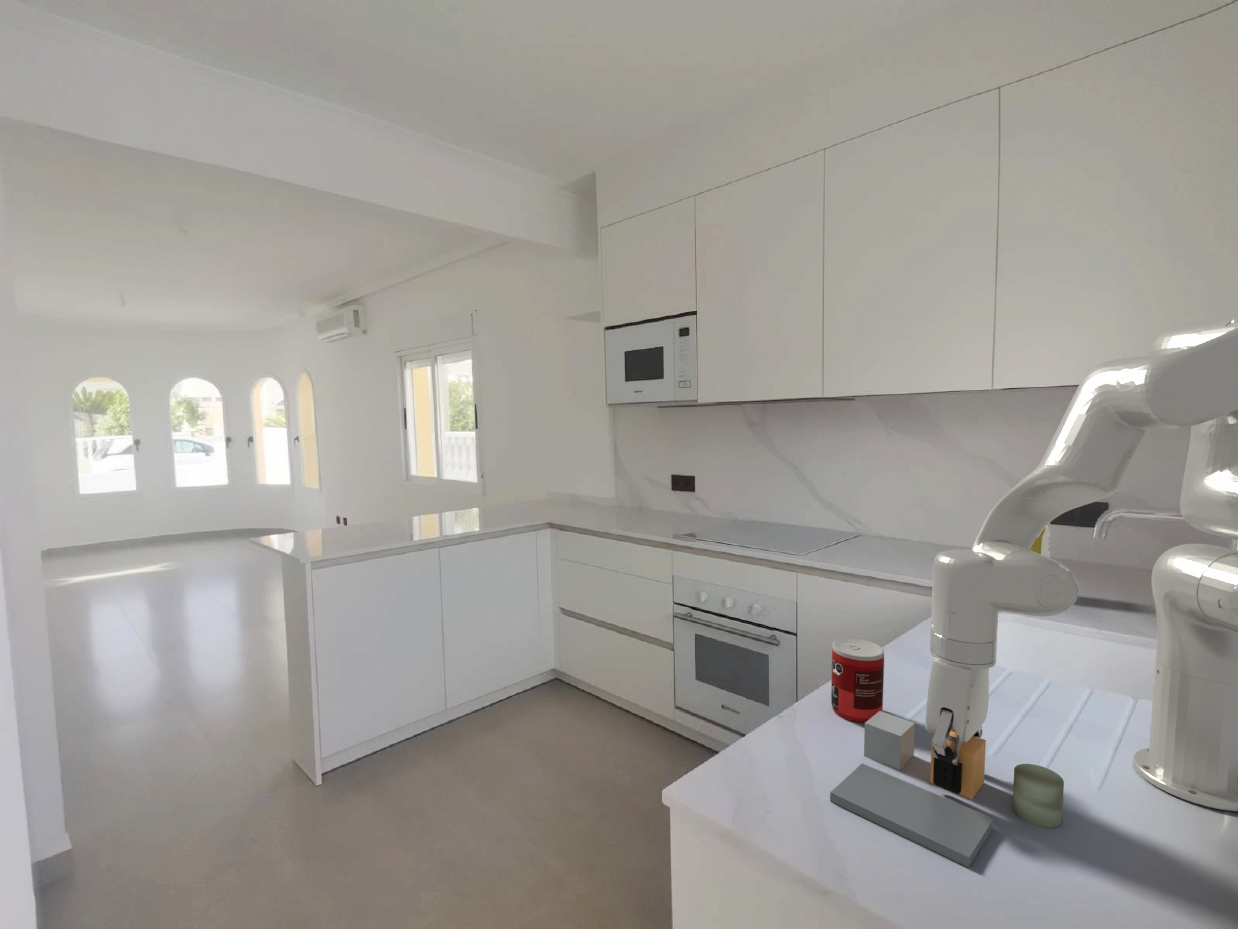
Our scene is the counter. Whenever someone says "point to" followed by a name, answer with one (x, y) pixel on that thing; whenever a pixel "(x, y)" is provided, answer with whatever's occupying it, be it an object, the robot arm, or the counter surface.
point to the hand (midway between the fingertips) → (957, 774)
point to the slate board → (914, 813)
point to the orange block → (968, 764)
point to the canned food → (857, 679)
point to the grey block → (889, 740)
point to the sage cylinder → (1038, 795)
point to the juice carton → (1042, 542)
